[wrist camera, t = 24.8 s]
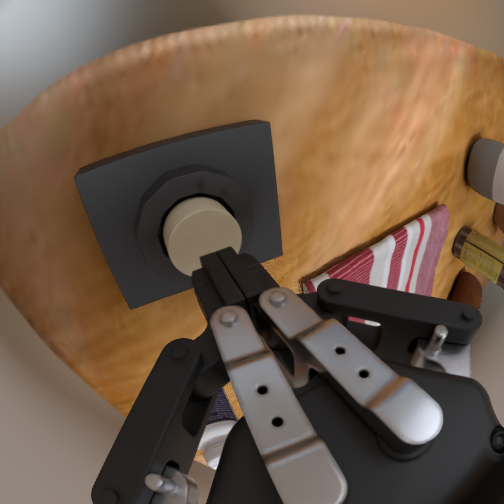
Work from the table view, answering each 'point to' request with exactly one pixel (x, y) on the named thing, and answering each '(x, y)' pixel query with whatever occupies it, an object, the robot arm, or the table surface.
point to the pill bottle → (217, 429)
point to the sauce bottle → (481, 254)
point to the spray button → (198, 232)
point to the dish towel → (396, 259)
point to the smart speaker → (487, 169)
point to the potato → (467, 290)
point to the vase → (499, 216)
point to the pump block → (175, 191)
